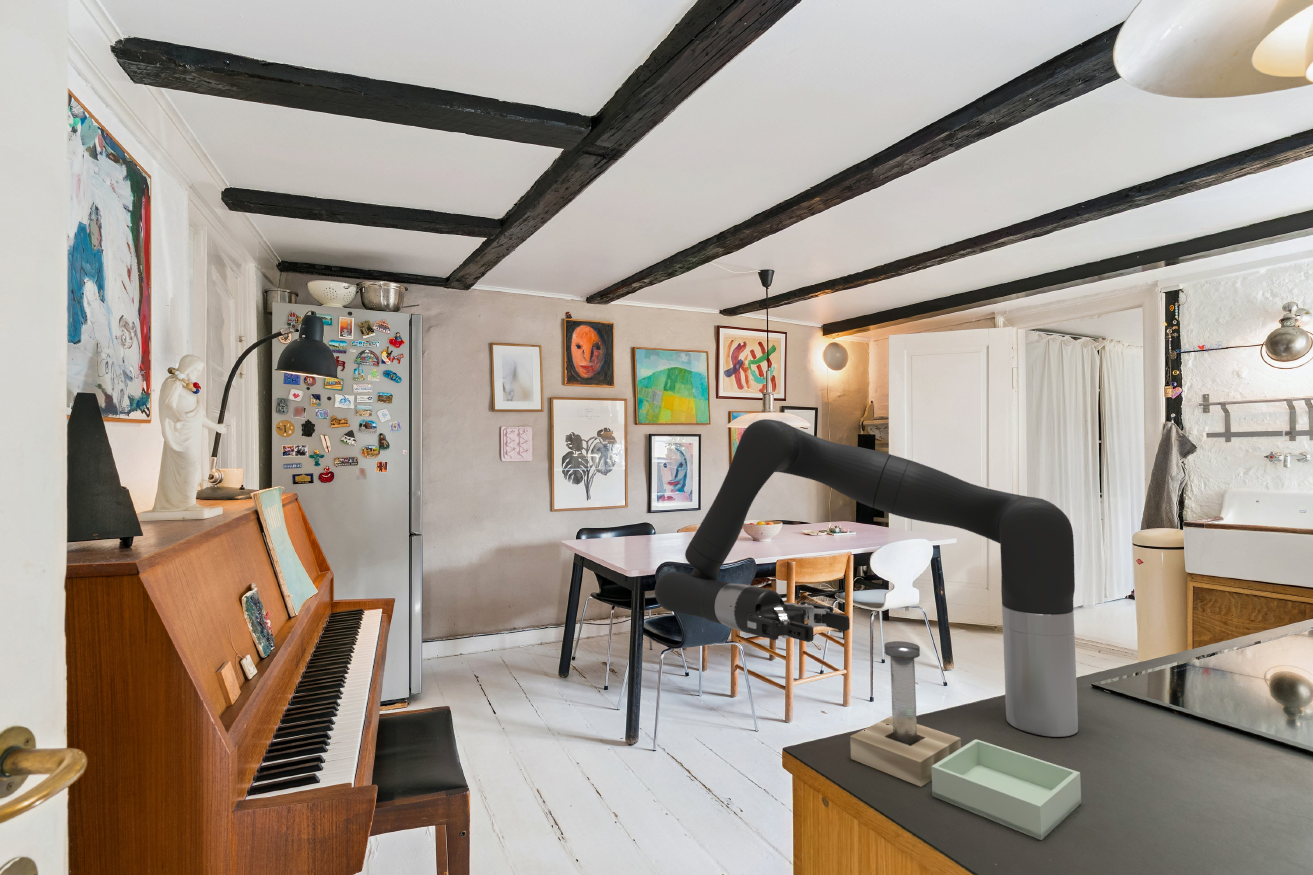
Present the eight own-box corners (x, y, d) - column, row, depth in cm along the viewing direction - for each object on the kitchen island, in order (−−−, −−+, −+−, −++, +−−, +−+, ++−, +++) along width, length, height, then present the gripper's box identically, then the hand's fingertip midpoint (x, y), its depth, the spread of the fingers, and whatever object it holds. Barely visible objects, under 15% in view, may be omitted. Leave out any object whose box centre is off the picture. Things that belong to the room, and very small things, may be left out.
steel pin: (899, 749, 91) (896, 639, 92) (930, 760, 88) (926, 645, 88) (881, 759, 89) (877, 645, 89) (912, 771, 85) (908, 653, 86)
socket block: (892, 736, 95) (891, 715, 95) (961, 760, 88) (960, 737, 88) (850, 758, 89) (850, 735, 89) (921, 786, 81) (920, 761, 81)
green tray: (976, 766, 86) (975, 738, 86) (1081, 802, 77) (1080, 772, 77) (932, 795, 79) (931, 766, 79) (1041, 840, 70) (1040, 806, 70)
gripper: (717, 592, 106) (798, 611, 93) (777, 580, 115) (859, 595, 102) (718, 640, 105) (799, 665, 93) (777, 624, 114) (859, 645, 102)
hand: (830, 629), depth 97 cm, fingers open, 8 cm apart
